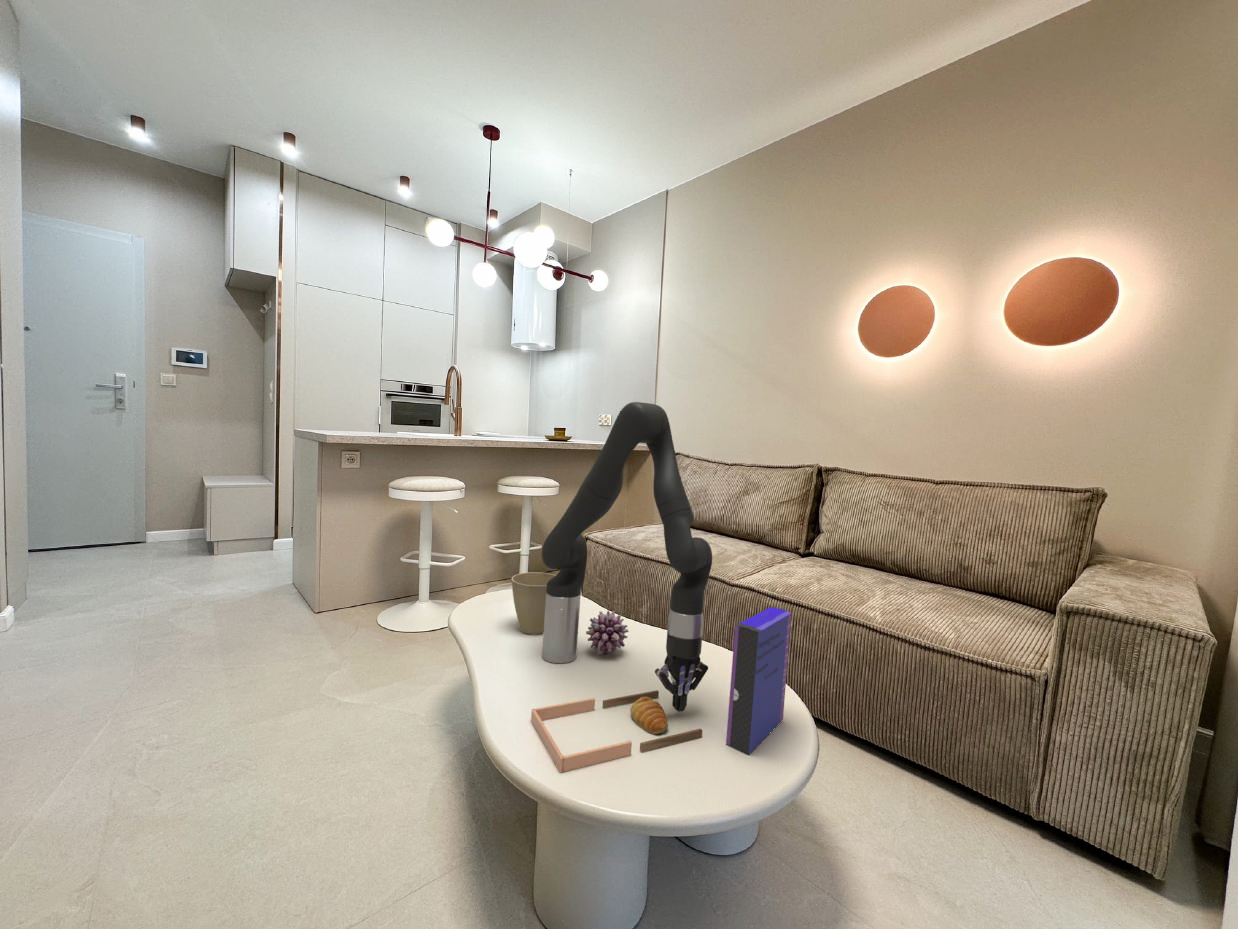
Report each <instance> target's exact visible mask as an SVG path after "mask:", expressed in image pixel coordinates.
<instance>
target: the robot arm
mask: <svg viewBox="0 0 1238 929" xmlns="http://www.w3.org/2000/svg"><path fill="white" fill-rule="evenodd" d="M639 444H646V446H647V448H648V450H649V453H650V455H651V458H652V463H653V486H652V487H653V488H652V490H653V498H654V502H655V505H656V508H657V511H658V514H659V517H660V520H661V522H662V525H663V535H664V547H665V552H666V557H667V560H668V561H669V564H670V565H671V567H672V569H674V570H675V571H676V572H677V573H680V575H679V578H678V579H677V580H676V581H675V583H673V585H672V586H671V587H672V588H671V595H670V606H669V607H670V609H669V613H668V618H667V630H666V644H665V650H666V657H665V659H664V665H662V667H660V668H656V669H655V670H654V674H655V675H656V677H657V679H658V680H659V681H660V682H661V684H662V685H663V687H664V688H665V689H666V690H667V691H668V692H669V693H670V694H672V702H671V705H672V707H673V708H674V710H675V711H676V712H678V713H681V712H684V711H685V709H686V707H687V705H688V695H689V693H690V692H691V691H695V690H696V689H697V687H698V686H699V685H700V682H701V681H702V680H703V678H704V676H705V674H706V673H707V671H708V670H709V666H708V665H707V664H705V663H704V662H702V660H701V657H700V656H701V653H702V645H703V643H702V642H703V633H704V602H705V590H706V587H707V583H708V581H709V578H710V573H711V570H712V564H713V551H712V547H711V546H710V543H708V541H707V540H705V539H704V538H702V537H697V536H696V537H693V534H692V529H691V525H692V524H693V523H695V522H694V521H695V517H694V512H693V510H692V506H691V503H690V501H689V498H688V496H687V492H686V489H685V487H684V484H683V481H682V478H681V473H680V469H679V464H678V461H677V455H676V450H675V446H674V440H673V435H672V429H671V425H670V420H669V416H668V415H667V412H666V411H665V409H664V408H663V407H661V406H660V405H658V404H654V403H650V402H649V403H648V402H640V401H633V402H632V401H631V402H629V403H627V404H625V405H624V406H623V407H622V409H621V410H620V411H619V412H618V415H617V416H616V418H615V420H614V423H613V425H612V427H611V429H610V431H609V434H608V436H607V438H606V440H605V442H604V445H603V447H602V449H601V451H600V453H599V455H598V456H597V458H596V459H595V461H594V463H593V464H592V467H591V469H590V470H589V471H588V473H587V475H586V476H585V478H584V480H583V481H582V483H581V485H580V487H579V488H578V490H577V492H576V494H575V496H574V498H573V499H572V500H571V502H570V503H569V506H568V508H566V510H565V512H564V514H563V515H562V516H561V518H560V519H559V521H558V522H557V523H556V524H555V526H554V527H553V529H552V530H551V531H550V532H549V534H548V535H547V537H546V538H545V539H544V540H545V541H544V542H543V545H542V549H541V559H542V563H543V564H544V565H545V567H547V568H548V569H552V570H559V571H558V573H557V574H555V575H556V576H555V577H553V578H552V579H550V580H549V581H548V583H547V587H546V602H545V618H544V633H542V634H543V635H542V648H541V650H542V651H541V657H542V660H544V661H547V662H549V663H553V664H568V663H571V662H573V661H575V660H576V659H577V651H578V639H579V638H578V637H579V624H580V623H579V622H580V612H581V609H580V608H581V596H582V592H581V591H582V587H583V585H584V582H585V578H586V570H587V561H588V545H587V541H586V539H585V537H584V535H583V534H582V533H584V532H585V531H586V530H587V529H588V528H590V527H591V526H593V525H595V523H597V522H598V521H599V520H600V519H602V517H604V516H605V515H606V514H607V513H608V512H609V511H610V509H611V508H612V507H613V505H614V503H615V502H616V500H617V498H618V497H619V495H620V494H621V491H622V490H623V485H624V471H625V470H624V469H625V465H626V463H627V461H628V459H629V458H630V456H631V454H632V452H633V451H634V450H635V448H636V447H637V446H638V445H639ZM669 677H670V678H669Z"/></svg>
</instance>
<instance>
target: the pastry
mask: <svg viewBox="0 0 1238 929" xmlns="http://www.w3.org/2000/svg"><path fill="white" fill-rule="evenodd" d="M630 713H631V719H633V721H634V723H635V724H636V725H637V726H638V727H640V728H642V730H644V731H645V732H646V733H650V734H651V735H658V734H664V733H665V732H666V731H667V729H668V728H669V724H668V717H667V714H666V711H665V710H664V708H663V707H662V705H661V704H660V703H659V701H657V700H656V701H655V700H654V699H652V698H650V697H641V698H640V699H638V700H636V701H635V702H634V703H632V705H631V706H630Z"/></svg>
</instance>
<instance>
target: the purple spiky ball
mask: <svg viewBox="0 0 1238 929" xmlns="http://www.w3.org/2000/svg"><path fill="white" fill-rule="evenodd" d="M598 613H599V614H597V617H598V618H596V617H594V616H593V618H592V617H591V618H590V619H589V621H590V622H591V623H590V626H588V627H587V629H588V630H586V631H585V632H586V633H585V634H586V635H589V636H590V637H589V638H587V641H588V642H592V643H591V644H590V648H593V649H594V650H595V651H596V650H597V649H598V650H599V655H603V654H604V655H607V654H608V652H609V653H612V655H615V654H616V651H617V648H618V649H620V650H621V648H624V647H625V646H626V644H625V642H624V640H625V639H627V638H628V635H625V634H626V633H629V628H628V627H629V626H628V624H622V623H623V621H624V620H625V619H624V618H621V617H622V615H621V614H618V615H617V616H615V615H616V614H615V613H616V611H615V610H612V611H611V613H610V611H609V610H607V611H606V614H605V613H603V611H602V610H601V611H599V612H598Z"/></svg>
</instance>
